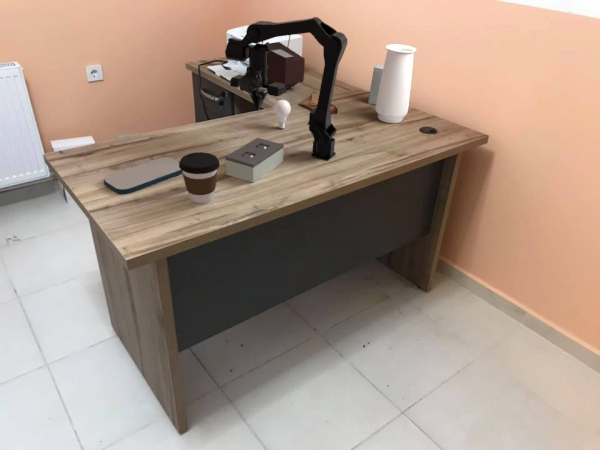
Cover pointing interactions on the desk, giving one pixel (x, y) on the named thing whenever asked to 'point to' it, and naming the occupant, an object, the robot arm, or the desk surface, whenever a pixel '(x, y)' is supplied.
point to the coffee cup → (200, 175)
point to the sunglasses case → (315, 104)
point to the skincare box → (375, 84)
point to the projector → (284, 65)
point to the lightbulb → (282, 112)
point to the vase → (395, 84)
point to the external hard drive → (143, 175)
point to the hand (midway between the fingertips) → (257, 110)
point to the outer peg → (248, 155)
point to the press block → (254, 160)
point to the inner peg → (262, 146)
